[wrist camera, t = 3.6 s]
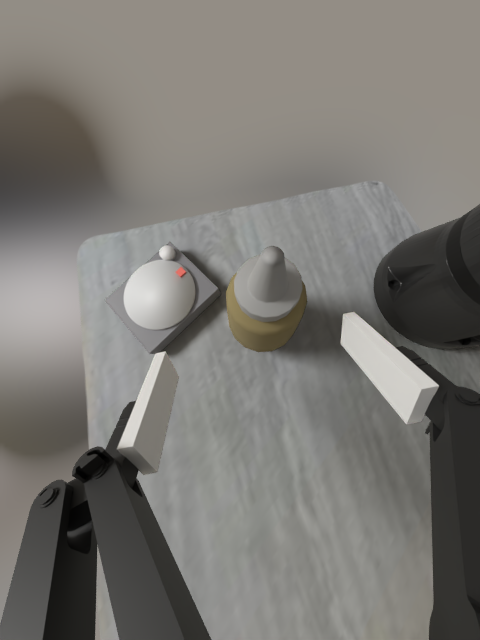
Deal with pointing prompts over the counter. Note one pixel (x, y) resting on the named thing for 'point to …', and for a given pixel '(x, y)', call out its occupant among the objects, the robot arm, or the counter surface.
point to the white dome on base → (162, 298)
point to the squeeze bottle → (265, 301)
